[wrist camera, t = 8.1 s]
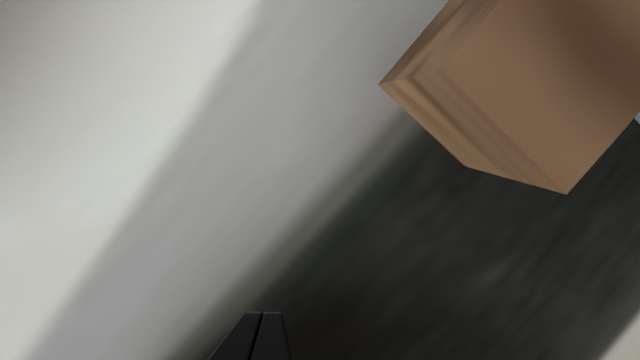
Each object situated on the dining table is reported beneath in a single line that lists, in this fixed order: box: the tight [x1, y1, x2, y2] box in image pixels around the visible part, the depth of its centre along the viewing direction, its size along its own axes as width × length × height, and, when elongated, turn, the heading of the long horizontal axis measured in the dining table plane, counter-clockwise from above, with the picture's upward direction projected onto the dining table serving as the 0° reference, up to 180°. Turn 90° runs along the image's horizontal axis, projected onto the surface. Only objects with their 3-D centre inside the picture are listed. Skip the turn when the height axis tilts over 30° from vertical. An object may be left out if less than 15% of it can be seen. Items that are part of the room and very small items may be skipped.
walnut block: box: [378, 0, 640, 195], centre depth 18 cm, size 9×7×8 cm
